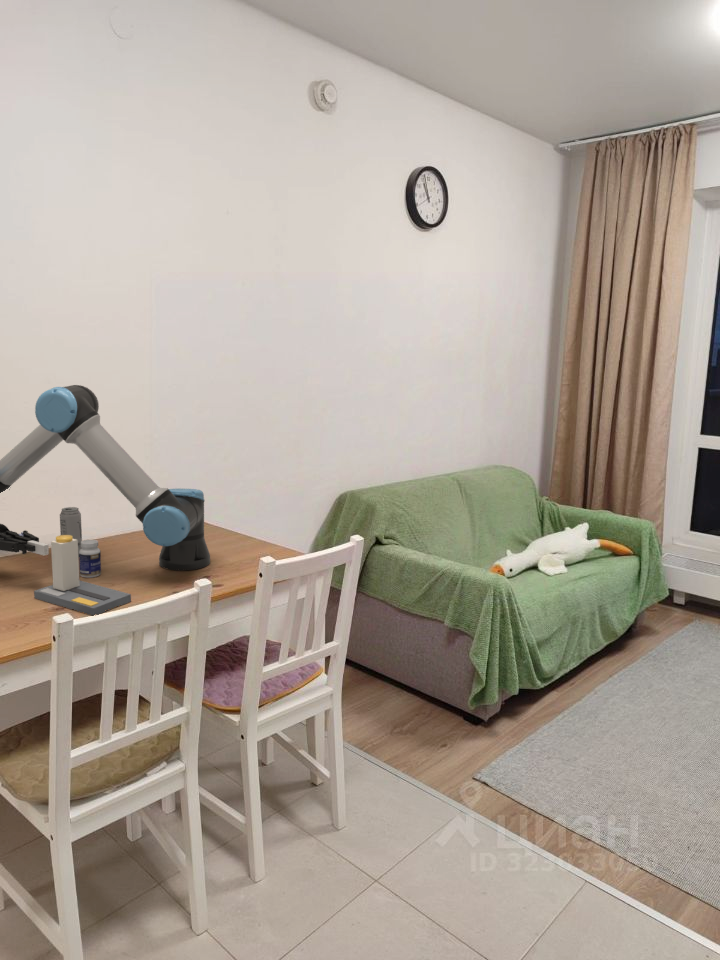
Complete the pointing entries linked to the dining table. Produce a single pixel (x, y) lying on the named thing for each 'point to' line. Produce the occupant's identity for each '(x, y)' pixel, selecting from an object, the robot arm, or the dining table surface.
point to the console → (84, 597)
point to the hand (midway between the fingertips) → (46, 550)
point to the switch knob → (65, 562)
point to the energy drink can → (71, 524)
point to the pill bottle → (90, 559)
